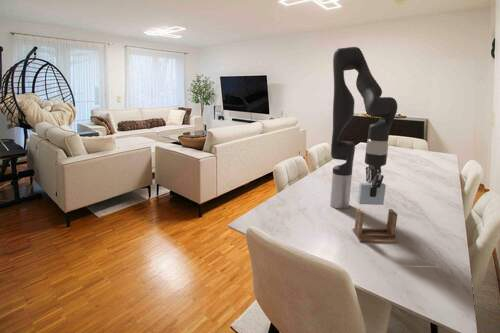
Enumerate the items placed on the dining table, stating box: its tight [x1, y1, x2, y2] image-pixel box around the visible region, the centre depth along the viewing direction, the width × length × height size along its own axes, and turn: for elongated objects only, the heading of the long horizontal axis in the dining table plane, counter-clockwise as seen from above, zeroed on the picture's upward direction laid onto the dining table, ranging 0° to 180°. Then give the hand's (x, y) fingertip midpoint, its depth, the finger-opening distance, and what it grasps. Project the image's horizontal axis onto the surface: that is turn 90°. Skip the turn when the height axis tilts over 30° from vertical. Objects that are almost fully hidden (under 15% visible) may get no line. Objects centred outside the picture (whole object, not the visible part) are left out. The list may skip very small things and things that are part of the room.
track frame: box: [351, 208, 399, 244], centre depth 116 cm, size 10×14×11 cm
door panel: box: [357, 182, 387, 206], centre depth 114 cm, size 2×9×8 cm, turn 86°
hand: (371, 195), depth 114 cm, fingers closed on door panel, 2 cm apart
